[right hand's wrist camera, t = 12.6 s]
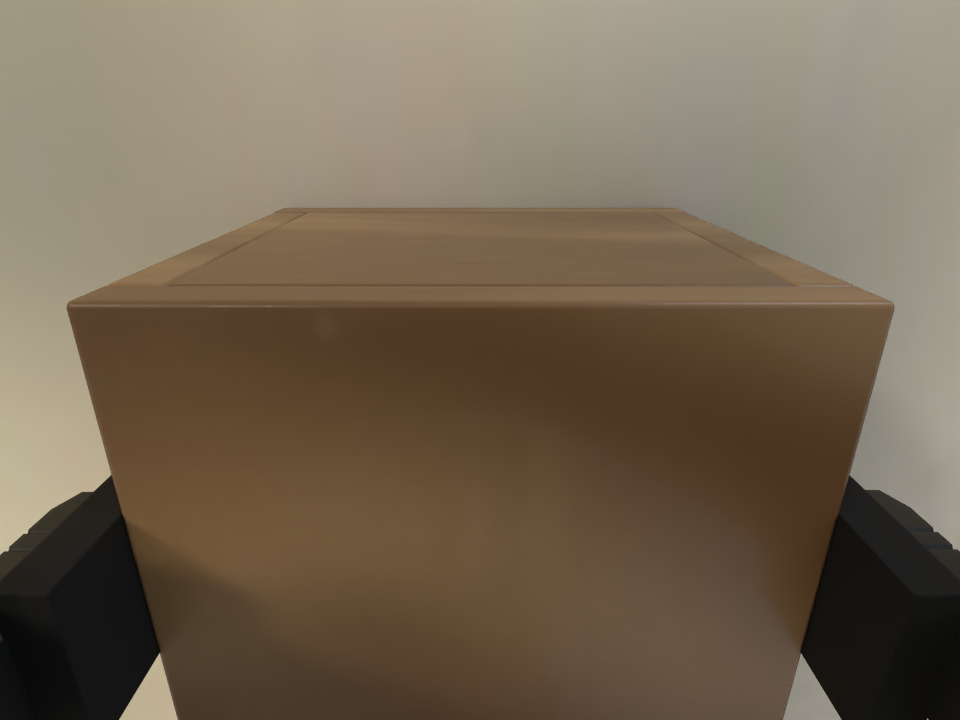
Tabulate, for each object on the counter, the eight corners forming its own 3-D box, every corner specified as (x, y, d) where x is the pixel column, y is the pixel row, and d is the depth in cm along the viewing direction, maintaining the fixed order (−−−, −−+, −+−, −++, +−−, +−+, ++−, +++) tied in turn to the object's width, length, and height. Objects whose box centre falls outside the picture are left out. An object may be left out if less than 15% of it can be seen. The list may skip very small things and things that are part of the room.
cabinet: (621, 668, 22) (707, 1003, 13) (338, 668, 22) (252, 1002, 13) (677, 208, 16) (900, 302, 7) (283, 207, 16) (61, 302, 7)
